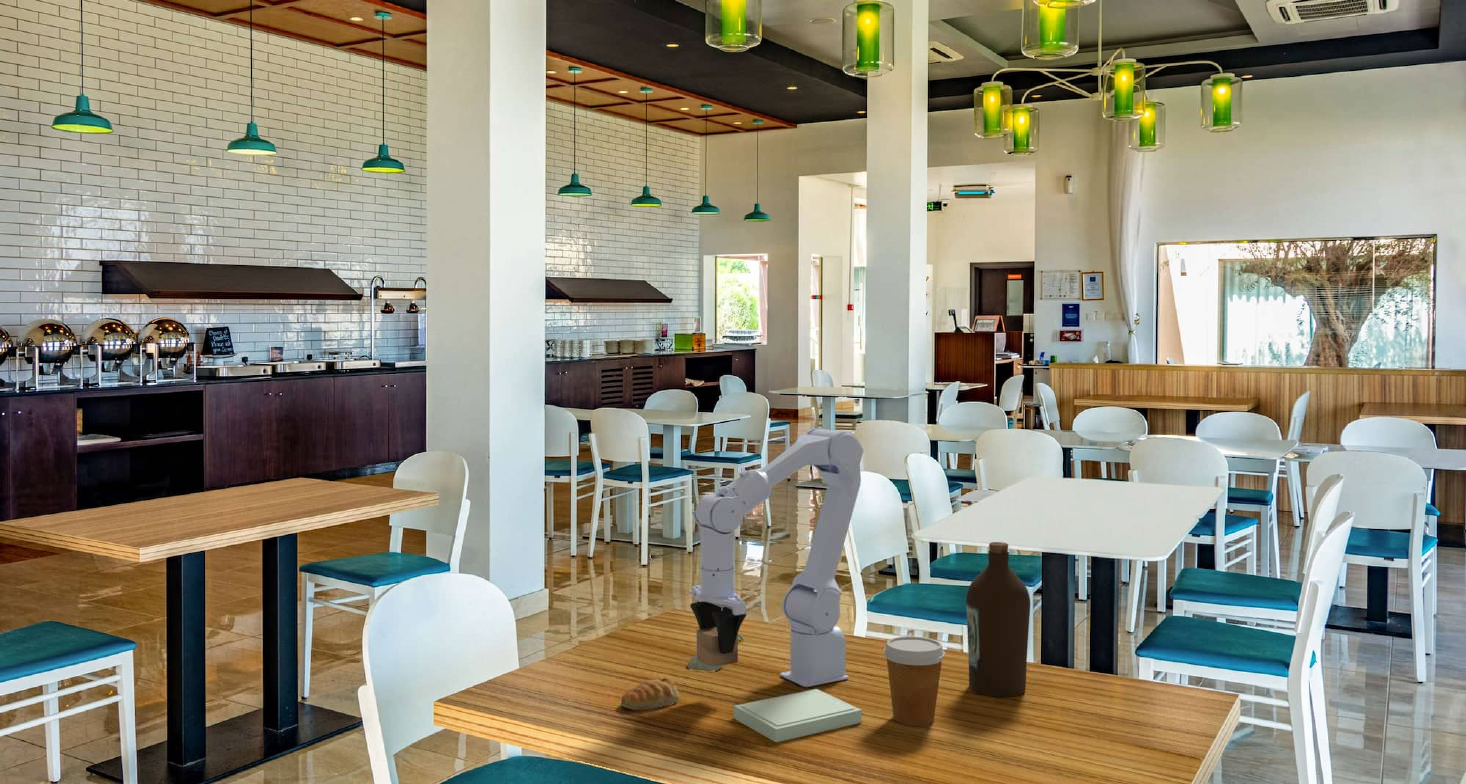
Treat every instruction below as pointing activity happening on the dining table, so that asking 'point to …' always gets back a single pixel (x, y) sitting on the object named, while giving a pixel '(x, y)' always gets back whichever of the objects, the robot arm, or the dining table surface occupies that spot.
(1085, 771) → the dining table surface
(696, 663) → the soupspoon
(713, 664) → the walnut block
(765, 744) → the dining table surface
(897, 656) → the disposable coffee cup
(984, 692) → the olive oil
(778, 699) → the serving board
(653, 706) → the pastry
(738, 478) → the robot arm
